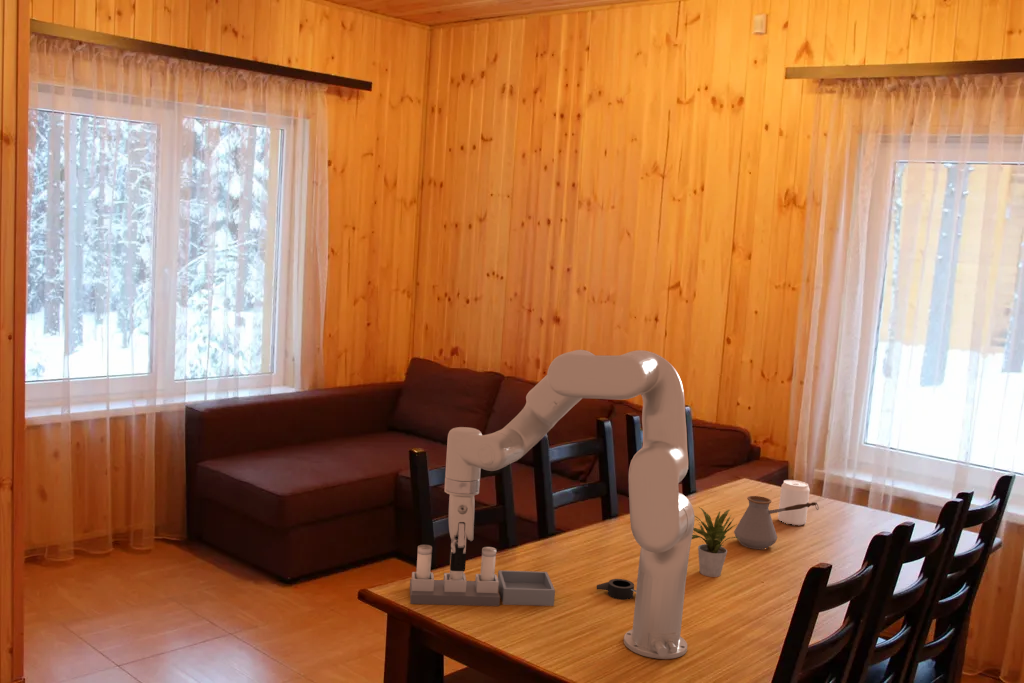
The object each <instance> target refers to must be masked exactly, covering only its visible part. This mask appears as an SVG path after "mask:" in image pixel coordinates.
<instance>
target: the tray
mask: <svg viewBox="0 0 1024 683" xmlns="http://www.w3.org/2000/svg"><path fill="white" fill-rule="evenodd" d="M497 578H498V581H499V585H498V592H499V596H500V599H501V603H502V605H510V606H541V607H542V606H547V607H548V606H549V607H550V606H551V607H552V606H553V607H554V606H555V596H556V595H555V594H556V589H555V587H554V584H553V582H552V580H551V578H550V576H549V573H548V571H536V570H535V571H532V570H531V571H529V570H500V569H498V571H497Z"/></svg>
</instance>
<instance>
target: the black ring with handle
mask: <svg viewBox="0 0 1024 683" xmlns="http://www.w3.org/2000/svg"><path fill="white" fill-rule="evenodd" d="M596 590H598V591H599V590H602V591H606V592H607V595H608V597H610V598H611V599H612V598H613V599H616V600H622V601H624V600H625V601H628V600H631V599H633V598H634V593H636V589H635V583H634V582H632V581H630V580H627V579H623V578H613V579H610V580H608V581H607V582H604V583H599V584H596Z"/></svg>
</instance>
